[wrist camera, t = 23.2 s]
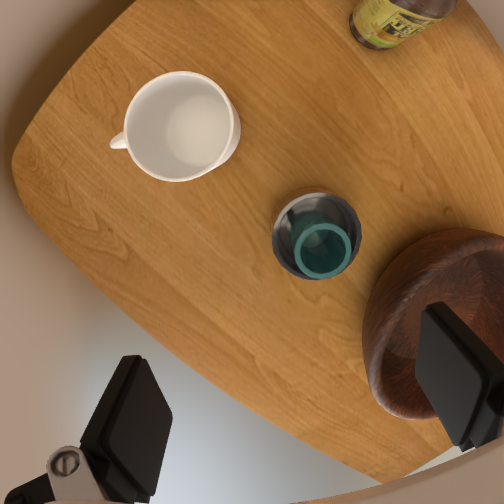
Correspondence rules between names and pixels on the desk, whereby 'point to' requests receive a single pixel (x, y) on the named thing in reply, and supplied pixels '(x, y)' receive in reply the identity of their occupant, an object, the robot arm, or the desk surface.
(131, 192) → the desk surface
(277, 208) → the bowl
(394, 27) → the sauce bottle
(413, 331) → the wooden bowl
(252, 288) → the desk surface
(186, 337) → the desk surface
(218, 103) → the mug
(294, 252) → the cup
